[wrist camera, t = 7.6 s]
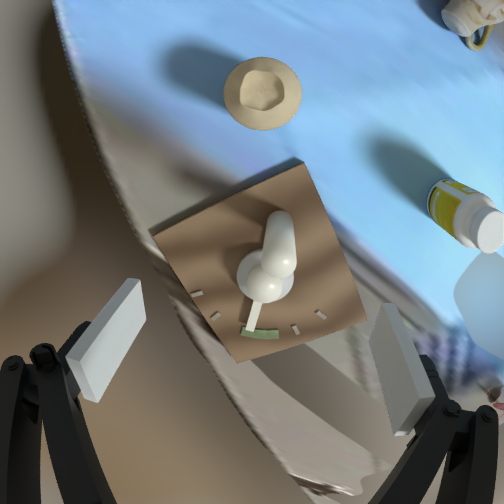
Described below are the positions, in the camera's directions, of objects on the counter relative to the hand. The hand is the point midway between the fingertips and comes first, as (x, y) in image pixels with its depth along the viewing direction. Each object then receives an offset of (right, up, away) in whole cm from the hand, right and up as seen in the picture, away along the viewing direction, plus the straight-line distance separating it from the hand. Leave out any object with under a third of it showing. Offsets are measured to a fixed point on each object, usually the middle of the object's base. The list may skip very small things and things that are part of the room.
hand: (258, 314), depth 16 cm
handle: (+1, +1, +18) cm, 18 cm away
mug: (+24, +30, +4) cm, 39 cm away
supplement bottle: (+21, +9, +13) cm, 27 cm away
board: (+1, 0, +19) cm, 19 cm away
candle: (+1, +18, +11) cm, 21 cm away
